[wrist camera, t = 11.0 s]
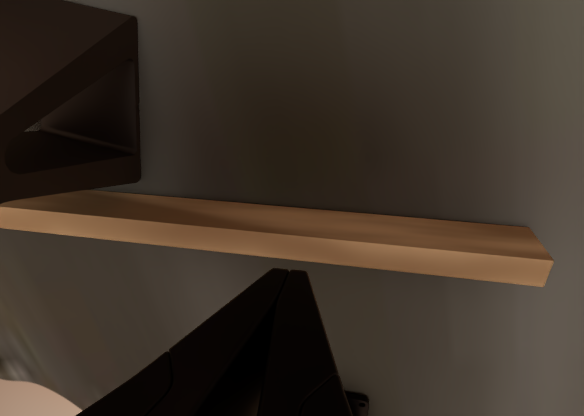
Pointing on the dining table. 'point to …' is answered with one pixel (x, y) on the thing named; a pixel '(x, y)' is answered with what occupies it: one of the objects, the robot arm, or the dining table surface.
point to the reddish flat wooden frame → (291, 234)
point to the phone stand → (67, 98)
